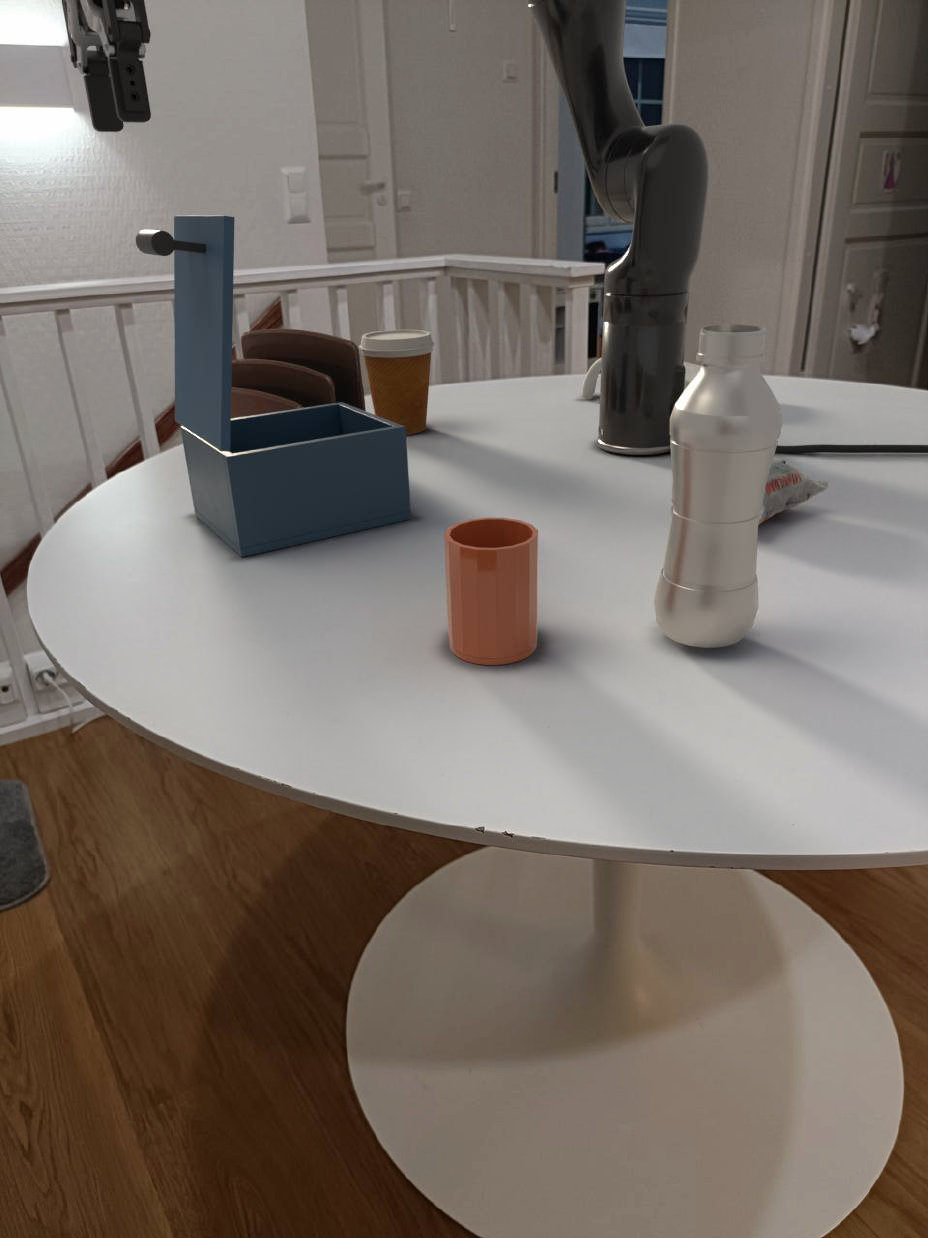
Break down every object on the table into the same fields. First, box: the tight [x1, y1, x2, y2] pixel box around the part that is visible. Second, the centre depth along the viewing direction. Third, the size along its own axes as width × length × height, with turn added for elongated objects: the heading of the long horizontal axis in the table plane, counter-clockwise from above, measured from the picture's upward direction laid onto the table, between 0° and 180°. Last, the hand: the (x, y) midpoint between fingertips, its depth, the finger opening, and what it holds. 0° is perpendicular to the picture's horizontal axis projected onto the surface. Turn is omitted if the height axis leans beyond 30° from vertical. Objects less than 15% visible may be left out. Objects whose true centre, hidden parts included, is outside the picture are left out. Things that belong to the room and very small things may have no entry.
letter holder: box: [231, 328, 367, 419], centre depth 101 cm, size 10×20×14 cm, turn 53°
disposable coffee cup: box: [358, 329, 436, 436], centre depth 113 cm, size 10×10×12 cm
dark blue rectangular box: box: [179, 402, 412, 558], centre depth 82 cm, size 17×14×9 cm
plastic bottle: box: [653, 323, 783, 649], centre depth 55 cm, size 6×7×20 cm
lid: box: [135, 215, 235, 451], centre depth 72 cm, size 18×14×5 cm
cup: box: [443, 517, 539, 666], centre depth 58 cm, size 6×6×8 cm
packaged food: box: [759, 458, 829, 525], centre depth 80 cm, size 9×12×5 cm
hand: (121, 126), depth 65 cm, fingers open, 8 cm apart
